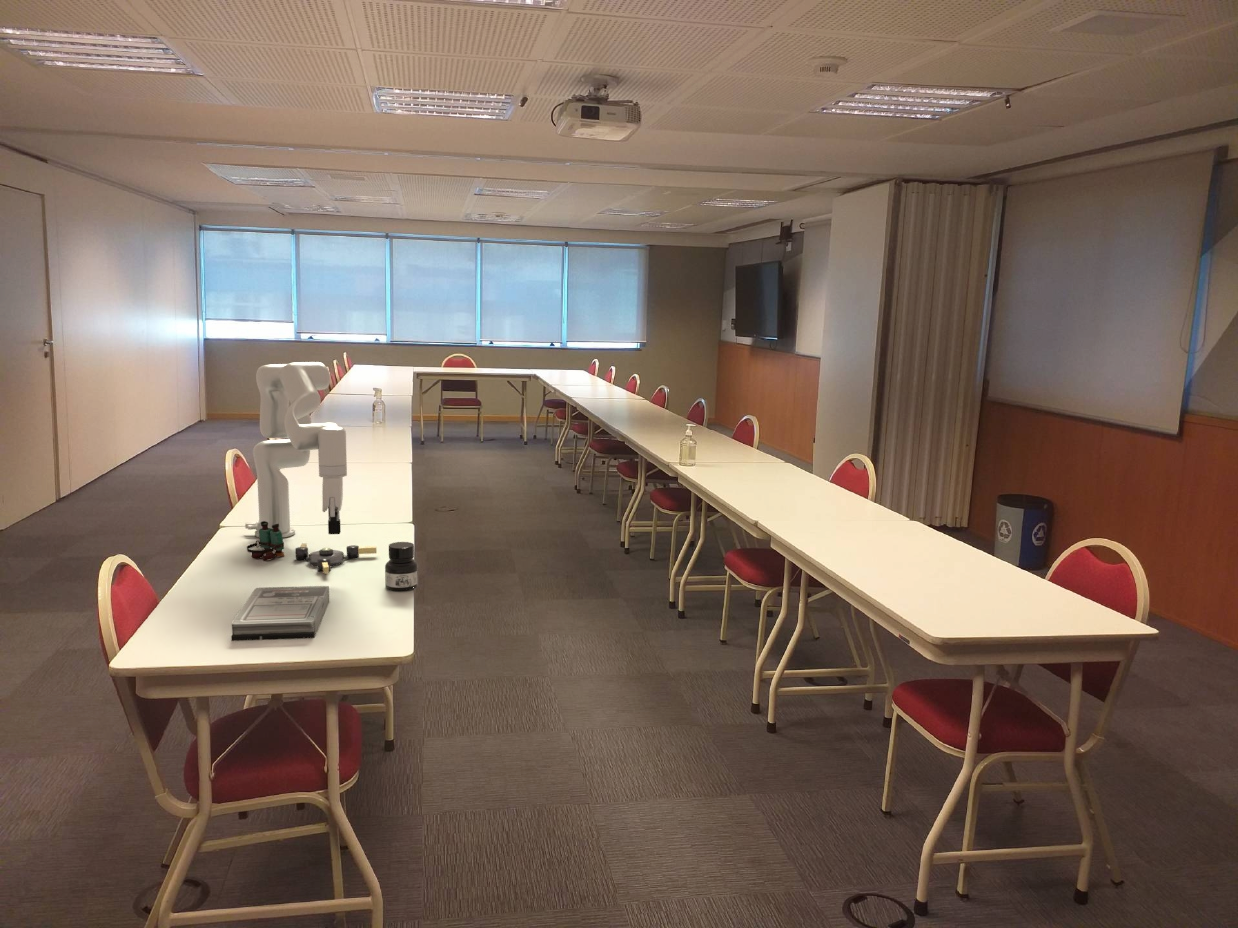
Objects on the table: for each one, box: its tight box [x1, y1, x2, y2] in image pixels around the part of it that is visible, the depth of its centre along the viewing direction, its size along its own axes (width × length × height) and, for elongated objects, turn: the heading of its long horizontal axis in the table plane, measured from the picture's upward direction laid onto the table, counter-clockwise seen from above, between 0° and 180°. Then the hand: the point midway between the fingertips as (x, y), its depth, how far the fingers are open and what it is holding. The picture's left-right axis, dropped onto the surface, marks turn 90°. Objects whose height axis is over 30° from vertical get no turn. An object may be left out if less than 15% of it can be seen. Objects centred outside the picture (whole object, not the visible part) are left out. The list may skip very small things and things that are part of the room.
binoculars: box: [246, 521, 285, 562], centre depth 271 cm, size 9×11×10 cm
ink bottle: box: [384, 541, 419, 592], centre depth 247 cm, size 10×9×12 cm
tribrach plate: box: [305, 547, 348, 568], centre depth 268 cm, size 12×11×4 cm
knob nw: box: [295, 542, 309, 562], centre depth 274 cm, size 9×4×3 cm, turn 13°
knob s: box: [317, 558, 332, 574], centre depth 258 cm, size 9×4×3 cm, turn 23°
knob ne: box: [346, 544, 377, 560], centre depth 275 cm, size 9×4×3 cm, turn 103°
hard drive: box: [230, 585, 330, 642], centre depth 221 cm, size 18×27×4 cm
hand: (334, 533), depth 256 cm, fingers closed
